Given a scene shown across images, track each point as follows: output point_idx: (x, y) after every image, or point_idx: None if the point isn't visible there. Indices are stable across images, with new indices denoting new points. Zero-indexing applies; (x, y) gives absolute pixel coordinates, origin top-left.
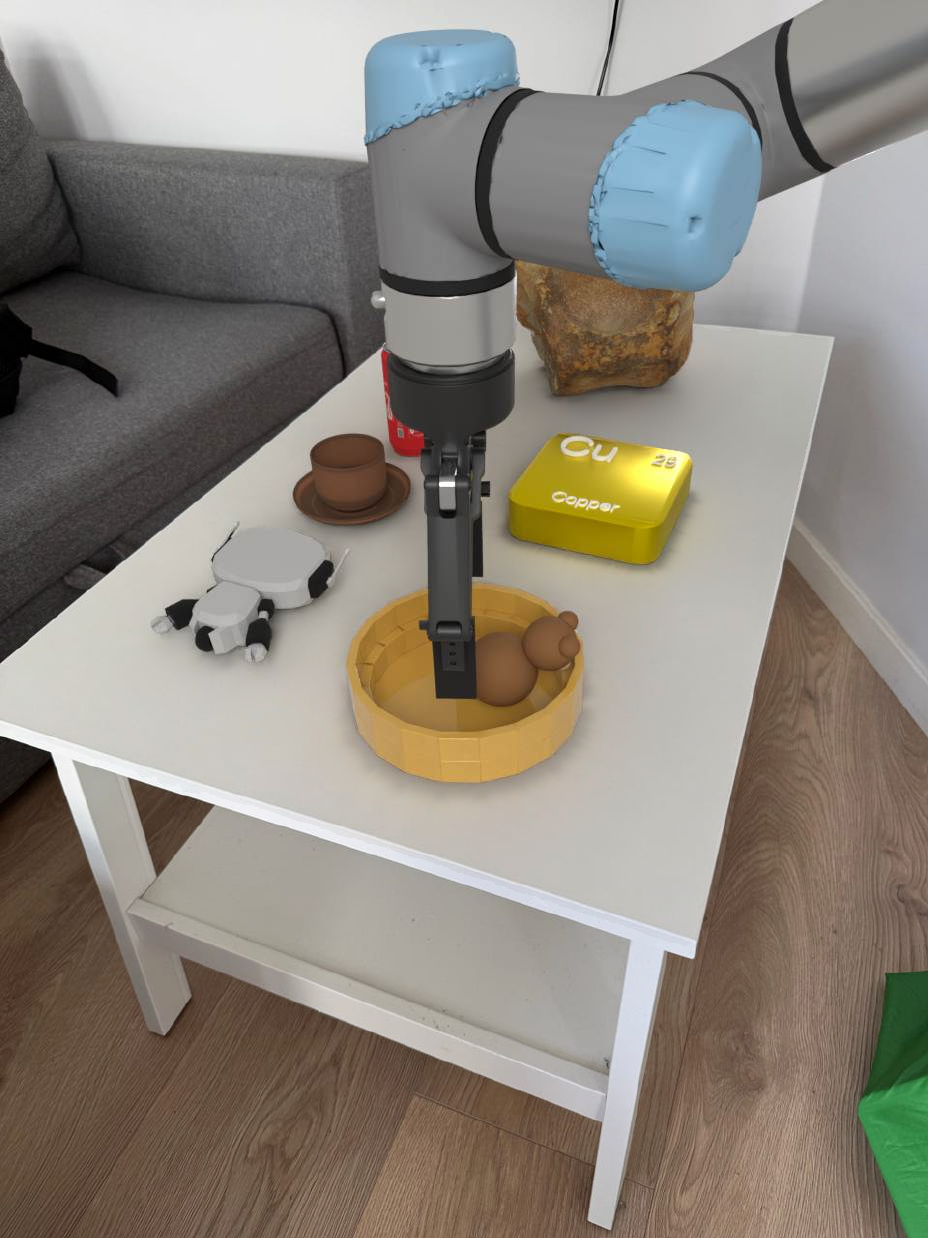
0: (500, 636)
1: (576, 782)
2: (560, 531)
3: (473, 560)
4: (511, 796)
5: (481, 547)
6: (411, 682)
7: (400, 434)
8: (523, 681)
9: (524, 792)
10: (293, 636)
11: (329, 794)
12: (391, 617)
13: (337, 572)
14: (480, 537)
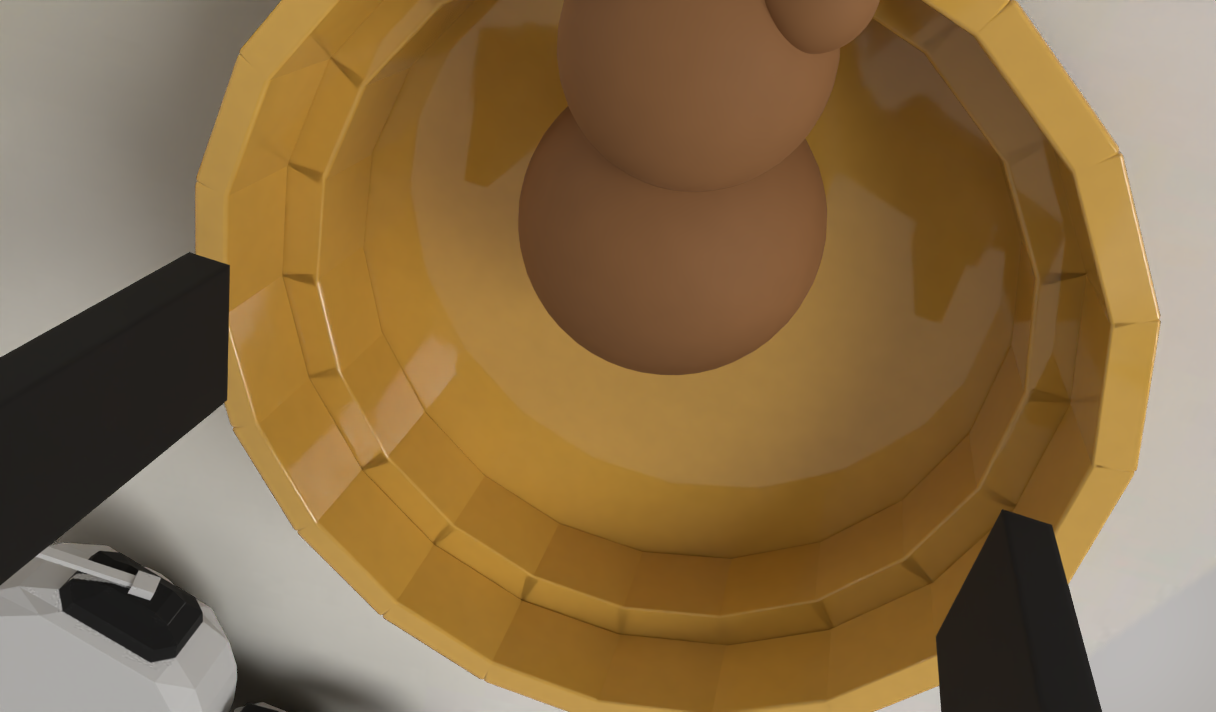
0: (605, 269)
1: (1208, 9)
2: None
3: (171, 343)
4: (1161, 260)
5: (116, 341)
6: (566, 432)
7: None
8: (807, 180)
9: (1164, 213)
10: (318, 635)
11: (927, 694)
12: (354, 521)
13: (104, 567)
14: (67, 372)
